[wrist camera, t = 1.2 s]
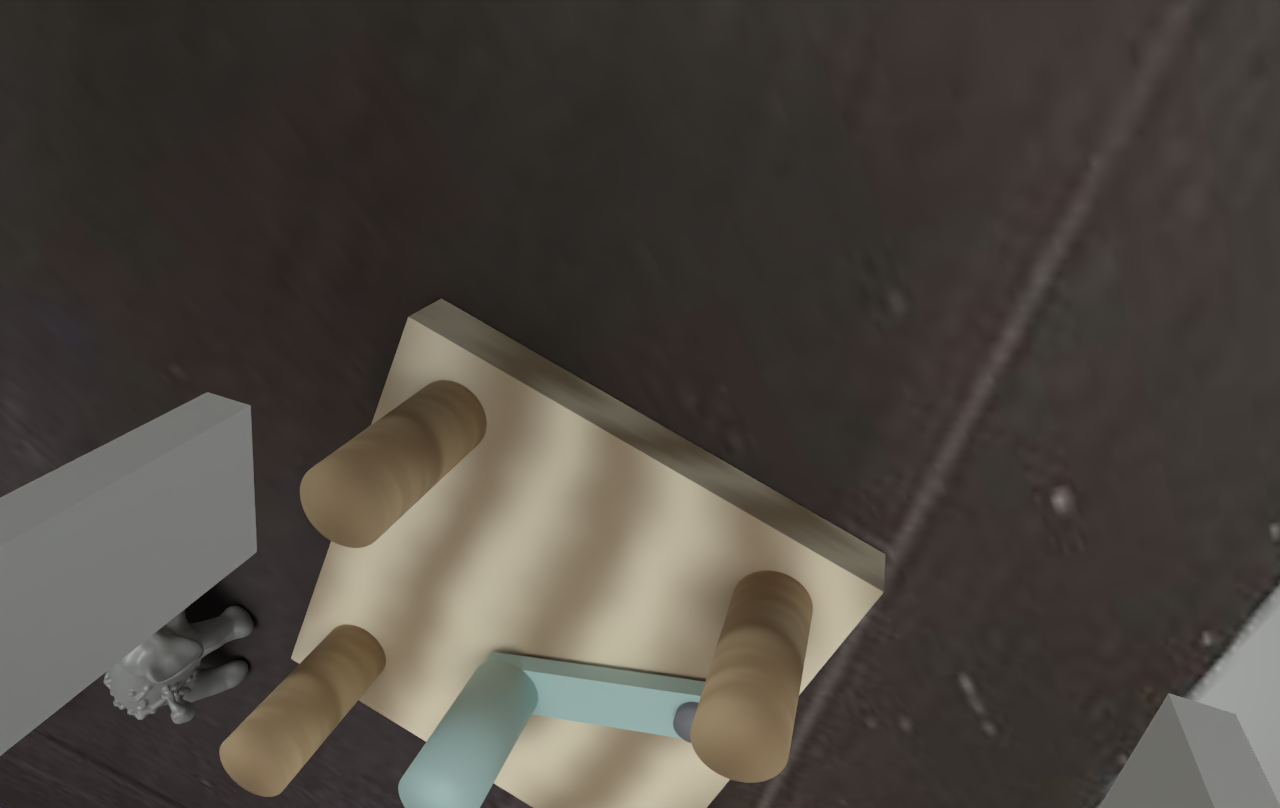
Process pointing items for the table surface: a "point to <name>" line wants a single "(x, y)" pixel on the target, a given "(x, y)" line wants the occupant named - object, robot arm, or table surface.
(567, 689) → the hinged leg
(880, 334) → the table surface
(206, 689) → the gray elephant figurine
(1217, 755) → the robot arm
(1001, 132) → the table surface
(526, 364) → the stool
